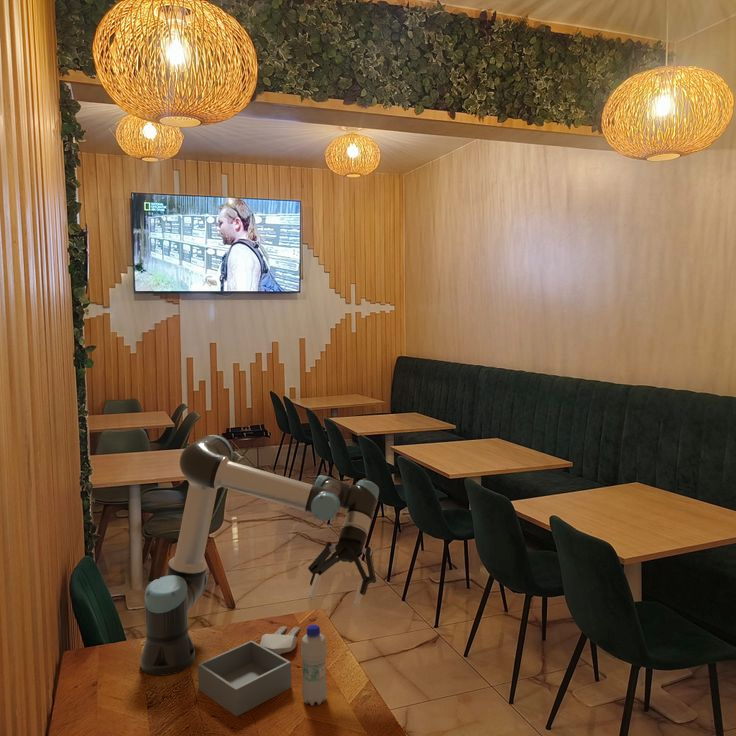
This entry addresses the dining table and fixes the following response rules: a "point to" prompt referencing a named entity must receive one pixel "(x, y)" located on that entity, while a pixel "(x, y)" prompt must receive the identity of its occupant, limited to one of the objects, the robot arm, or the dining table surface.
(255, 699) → the tray
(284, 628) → the turret
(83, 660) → the dining table surface
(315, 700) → the bottle
